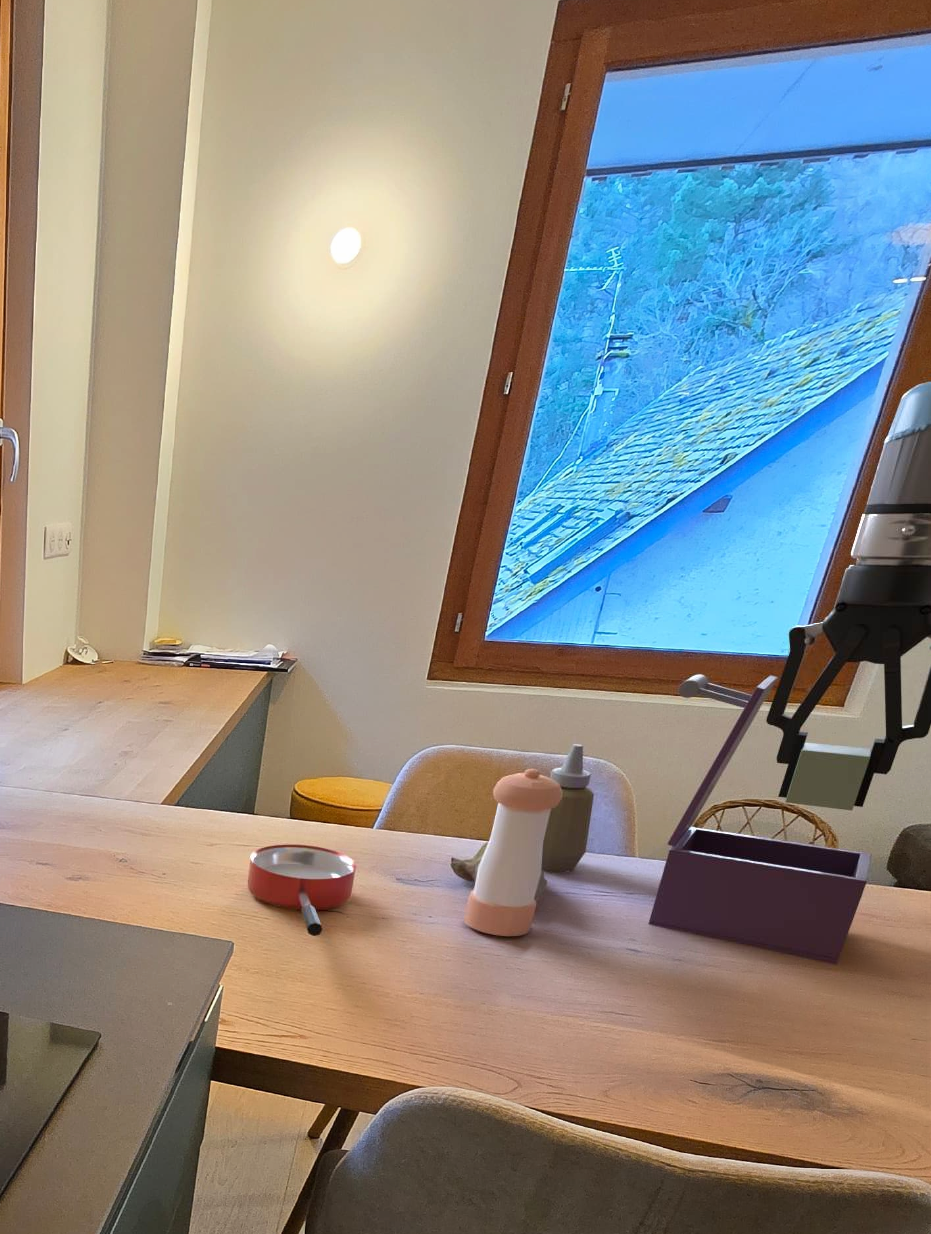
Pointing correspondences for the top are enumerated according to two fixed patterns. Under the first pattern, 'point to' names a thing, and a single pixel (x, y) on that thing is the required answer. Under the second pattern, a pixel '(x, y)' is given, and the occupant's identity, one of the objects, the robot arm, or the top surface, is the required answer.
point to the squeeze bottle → (568, 816)
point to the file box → (762, 892)
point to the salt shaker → (513, 855)
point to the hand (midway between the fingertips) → (820, 799)
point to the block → (828, 776)
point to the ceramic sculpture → (470, 867)
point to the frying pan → (301, 879)
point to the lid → (751, 708)
